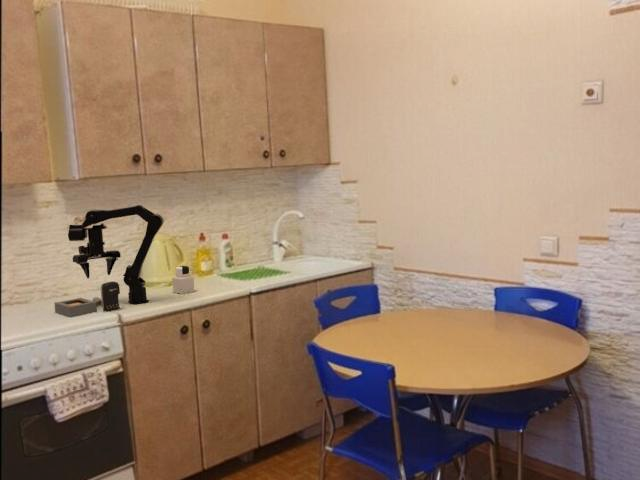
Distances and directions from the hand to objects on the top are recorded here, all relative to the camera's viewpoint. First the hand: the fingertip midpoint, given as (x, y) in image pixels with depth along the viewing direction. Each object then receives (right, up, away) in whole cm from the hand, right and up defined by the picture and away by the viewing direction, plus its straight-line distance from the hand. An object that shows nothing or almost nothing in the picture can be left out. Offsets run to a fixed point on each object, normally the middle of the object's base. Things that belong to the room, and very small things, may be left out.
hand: (98, 276), depth 257 cm
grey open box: (-5, -14, -11) cm, 18 cm away
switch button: (-5, -13, -11) cm, 18 cm away
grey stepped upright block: (+31, -9, +22) cm, 39 cm away
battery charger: (+9, -13, -9) cm, 18 cm away
